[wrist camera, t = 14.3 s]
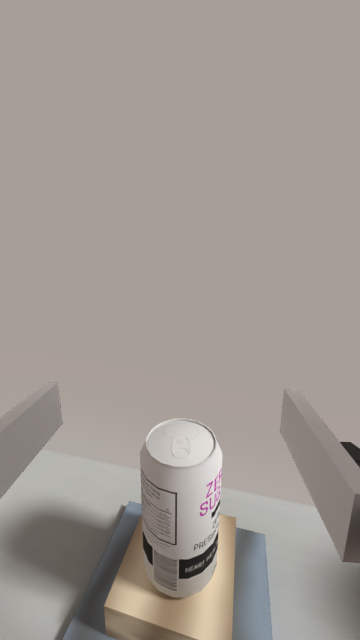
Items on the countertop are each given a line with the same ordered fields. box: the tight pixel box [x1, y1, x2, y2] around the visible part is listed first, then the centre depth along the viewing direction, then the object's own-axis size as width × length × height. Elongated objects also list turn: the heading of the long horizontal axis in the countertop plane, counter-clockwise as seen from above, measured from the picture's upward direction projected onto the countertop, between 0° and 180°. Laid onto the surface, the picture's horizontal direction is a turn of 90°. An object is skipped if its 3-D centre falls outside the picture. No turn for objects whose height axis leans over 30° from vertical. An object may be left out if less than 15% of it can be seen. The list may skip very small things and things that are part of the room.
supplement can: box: [140, 419, 222, 597], centre depth 27 cm, size 8×8×15 cm
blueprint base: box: [62, 501, 272, 640], centre depth 29 cm, size 20×16×5 cm
